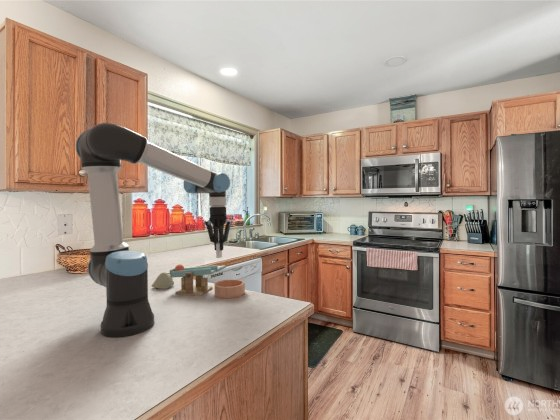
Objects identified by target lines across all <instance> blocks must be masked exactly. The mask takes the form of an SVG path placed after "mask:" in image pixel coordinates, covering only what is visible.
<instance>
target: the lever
mask: <svg viewBox="0 0 560 420" xmlns="http://www.w3.org/2000/svg"><path fill="white" fill-rule="evenodd" d="M226 265H227V264H226ZM226 265H225V264H224V265H217V264H216V265H206V266H205V265H204V266H195V267H184V270H183V271H175V267H174V268H171V269H169V275H170V277H171V278H172V279H174V278H182V277H185V273H186V272H191V273H193V277H196V276H198V275H203V276H208V275H209V276H210V275H213V274H215V273H217V272H220V271H222V270H223V269H227V266H226Z"/></svg>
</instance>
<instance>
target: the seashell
mask: <svg viewBox="0 0 560 420" xmlns="http://www.w3.org/2000/svg"><path fill="white" fill-rule="evenodd" d="M174 285H175V282H174V278H171V277H170V274H168V273H167V272H163V271H162V272H161V273H159V275H158V276H157V277H156V278H155V280H154V281H153V283H152V284H151V285H150V286H151V287H152V288H154V289H163V290H164V289H169V288H171V287H173V286H174Z"/></svg>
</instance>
